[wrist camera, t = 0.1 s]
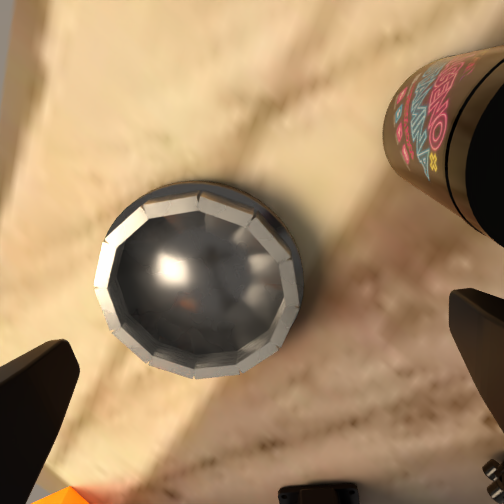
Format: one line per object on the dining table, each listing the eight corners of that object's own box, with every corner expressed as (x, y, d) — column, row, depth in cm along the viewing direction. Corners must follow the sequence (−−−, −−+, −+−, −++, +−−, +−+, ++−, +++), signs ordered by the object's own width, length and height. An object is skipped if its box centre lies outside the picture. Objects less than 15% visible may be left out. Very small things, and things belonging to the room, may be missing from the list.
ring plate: (314, 350, 26) (317, 372, 24) (137, 370, 28) (126, 392, 26) (286, 162, 22) (287, 170, 20) (75, 200, 23) (55, 210, 21)
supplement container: (500, 32, 19) (736, -32, 9) (516, 163, 21) (718, 222, 11) (364, 85, 20) (444, 78, 10) (393, 203, 22) (481, 287, 13)
